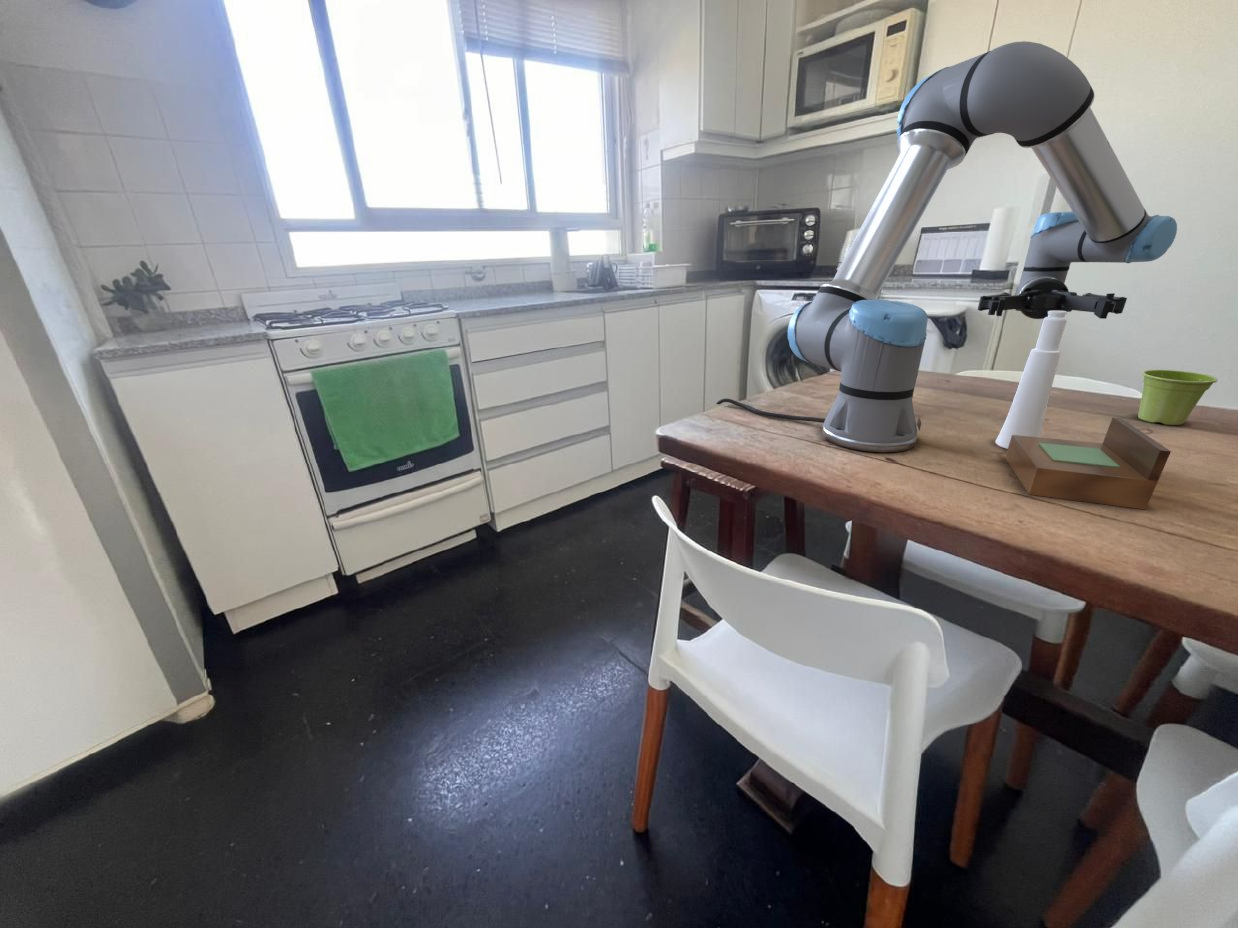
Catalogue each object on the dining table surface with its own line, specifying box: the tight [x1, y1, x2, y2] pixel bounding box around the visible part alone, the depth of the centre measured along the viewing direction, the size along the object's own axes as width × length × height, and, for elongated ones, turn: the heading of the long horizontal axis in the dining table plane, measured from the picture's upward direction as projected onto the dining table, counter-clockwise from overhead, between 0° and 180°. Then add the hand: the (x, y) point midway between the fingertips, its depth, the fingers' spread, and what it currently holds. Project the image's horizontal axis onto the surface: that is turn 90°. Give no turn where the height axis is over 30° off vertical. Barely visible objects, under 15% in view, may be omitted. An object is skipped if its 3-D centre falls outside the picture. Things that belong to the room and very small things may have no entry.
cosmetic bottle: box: [994, 310, 1068, 450], centre depth 79 cm, size 6×6×22 cm
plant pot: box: [1137, 369, 1219, 426], centre depth 91 cm, size 9×9×9 cm
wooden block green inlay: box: [1004, 416, 1172, 510], centre depth 69 cm, size 12×14×8 cm
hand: (1051, 309), depth 82 cm, fingers open, 13 cm apart
